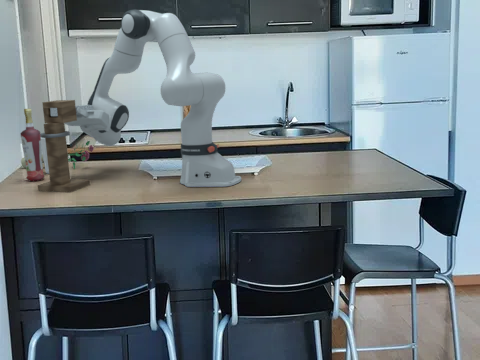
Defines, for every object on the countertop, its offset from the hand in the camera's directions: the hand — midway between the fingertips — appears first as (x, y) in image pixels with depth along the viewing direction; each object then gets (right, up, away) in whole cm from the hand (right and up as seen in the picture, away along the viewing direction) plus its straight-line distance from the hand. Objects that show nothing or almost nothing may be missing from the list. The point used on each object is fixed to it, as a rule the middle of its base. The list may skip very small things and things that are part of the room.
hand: (71, 109), depth 224 cm
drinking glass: (-16, -23, +28) cm, 40 cm away
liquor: (-18, -26, +14) cm, 35 cm away
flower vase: (-16, -21, +39) cm, 47 cm away
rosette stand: (-2, -29, -3) cm, 29 cm away
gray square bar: (0, -2, +1) cm, 2 cm away
